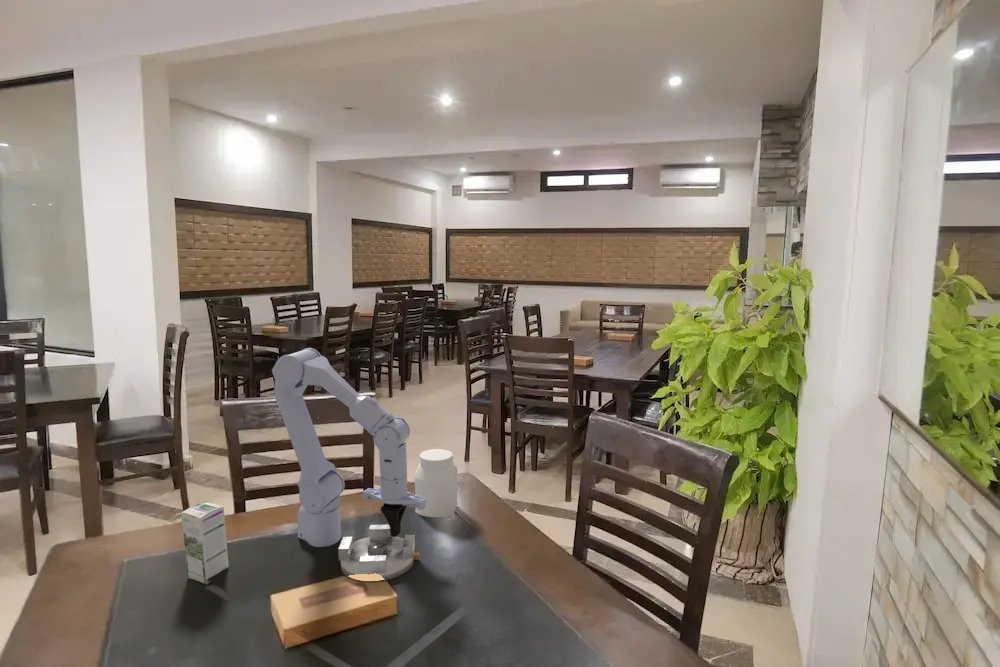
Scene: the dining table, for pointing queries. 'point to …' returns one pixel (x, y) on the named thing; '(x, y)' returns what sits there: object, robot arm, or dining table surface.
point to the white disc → (378, 553)
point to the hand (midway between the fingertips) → (395, 534)
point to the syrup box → (204, 541)
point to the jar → (437, 483)
